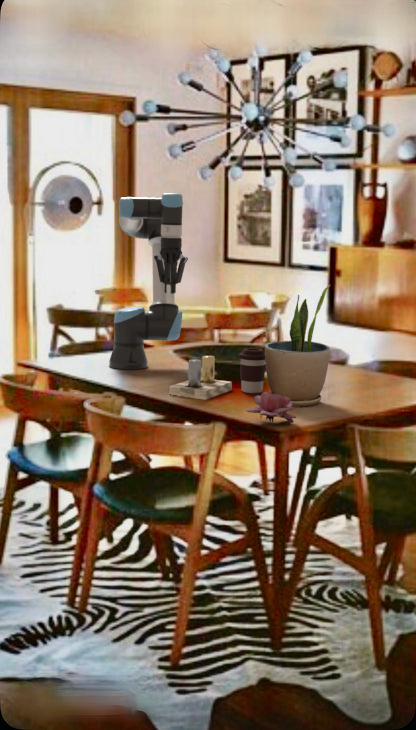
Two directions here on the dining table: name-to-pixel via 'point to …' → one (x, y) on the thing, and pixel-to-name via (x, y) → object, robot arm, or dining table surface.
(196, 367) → the grey rectangular block
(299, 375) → the potted plant
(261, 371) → the coffee cup
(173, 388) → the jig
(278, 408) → the flower
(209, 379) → the yellow rectangular block
